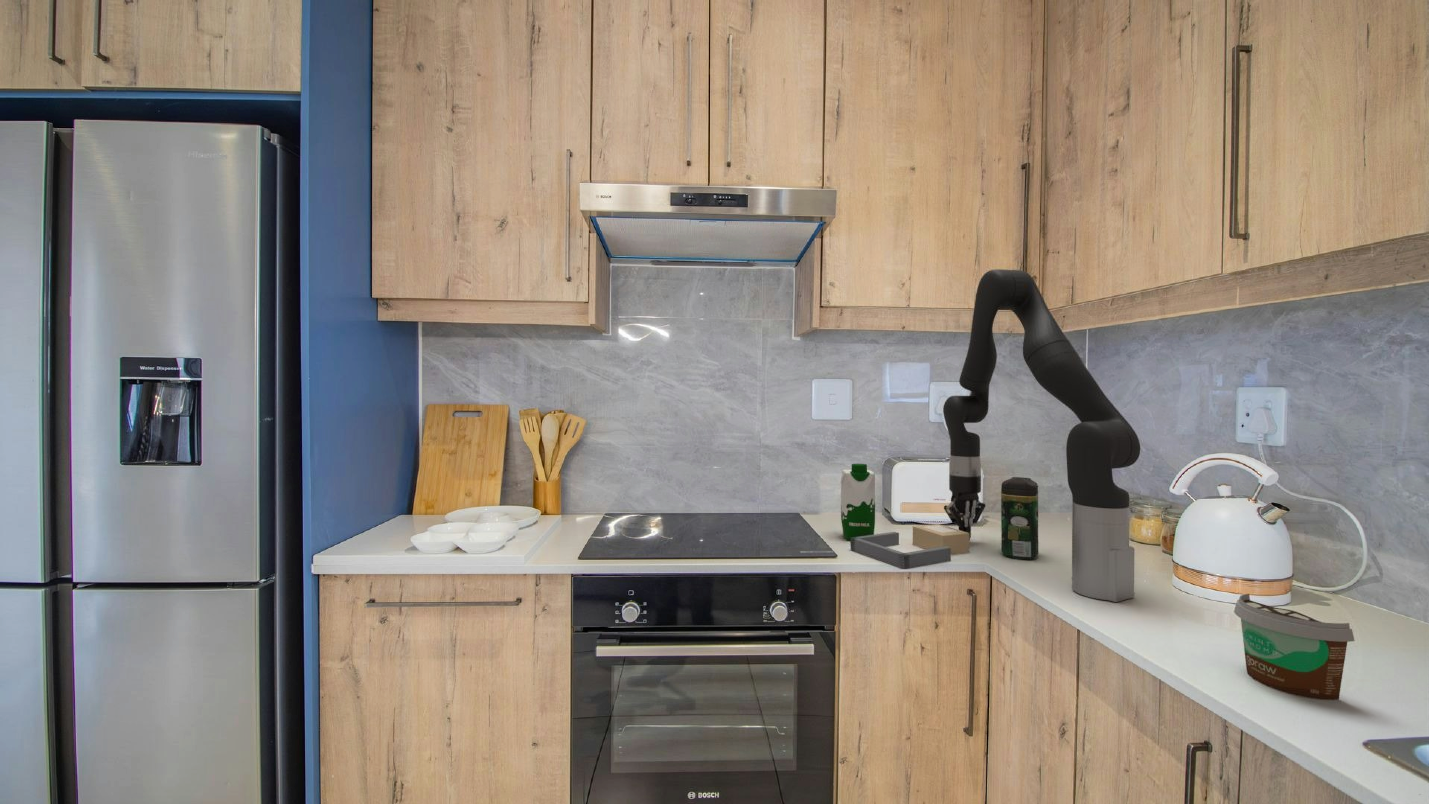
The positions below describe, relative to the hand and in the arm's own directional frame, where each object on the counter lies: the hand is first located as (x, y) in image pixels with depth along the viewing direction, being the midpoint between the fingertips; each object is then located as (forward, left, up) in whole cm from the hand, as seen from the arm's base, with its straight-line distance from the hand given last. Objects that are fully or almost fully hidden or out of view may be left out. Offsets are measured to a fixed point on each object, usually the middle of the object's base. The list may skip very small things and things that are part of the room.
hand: (964, 540), depth 151 cm
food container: (-70, +24, -1) cm, 74 cm away
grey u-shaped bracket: (0, +22, -1) cm, 22 cm away
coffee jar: (-13, -3, -1) cm, 13 cm away
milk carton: (+18, +20, -1) cm, 27 cm away
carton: (0, +9, -1) cm, 9 cm away
